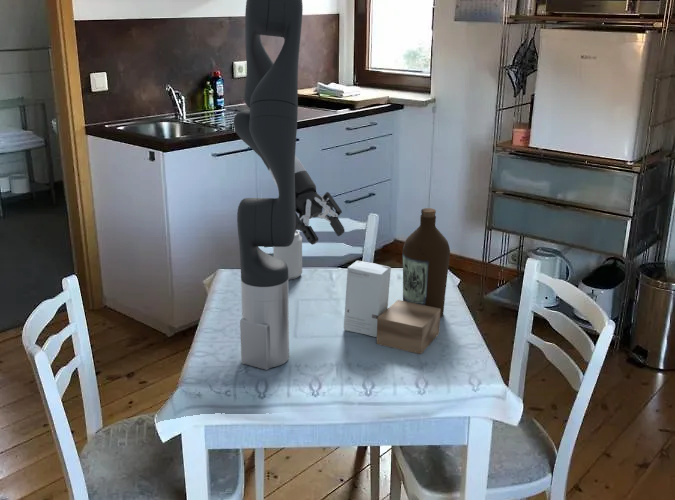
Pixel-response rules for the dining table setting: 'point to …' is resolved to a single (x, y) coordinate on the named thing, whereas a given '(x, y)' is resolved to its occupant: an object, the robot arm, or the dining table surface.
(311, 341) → the dining table surface
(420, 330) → the walnut block
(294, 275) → the can
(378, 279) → the skincare box
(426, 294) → the olive oil
